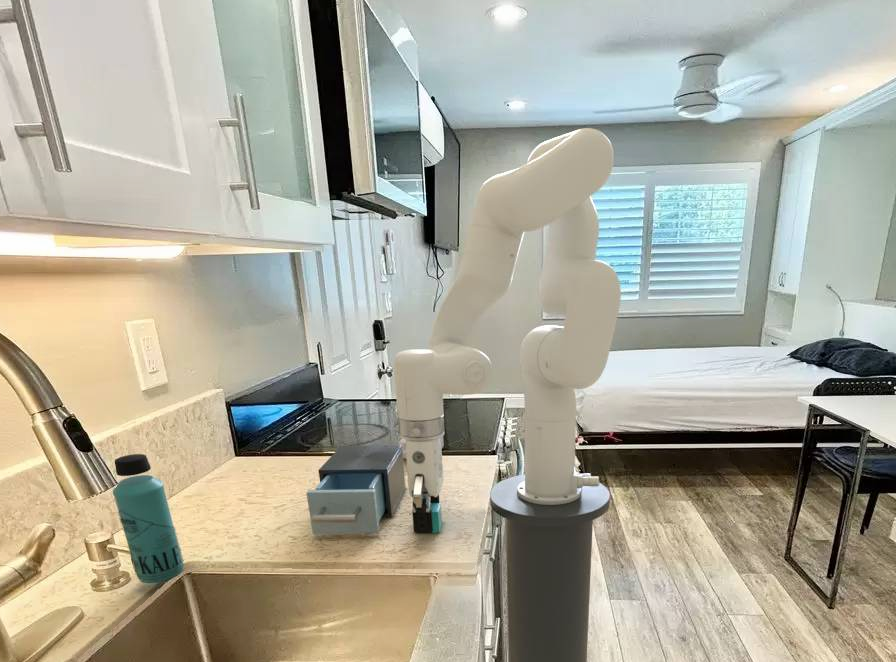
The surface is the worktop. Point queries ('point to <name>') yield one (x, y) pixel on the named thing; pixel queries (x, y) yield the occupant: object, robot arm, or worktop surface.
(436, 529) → the teal rounded cube
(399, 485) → the drawer cabinet
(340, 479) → the light blue drawer
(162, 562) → the beverage bottle
